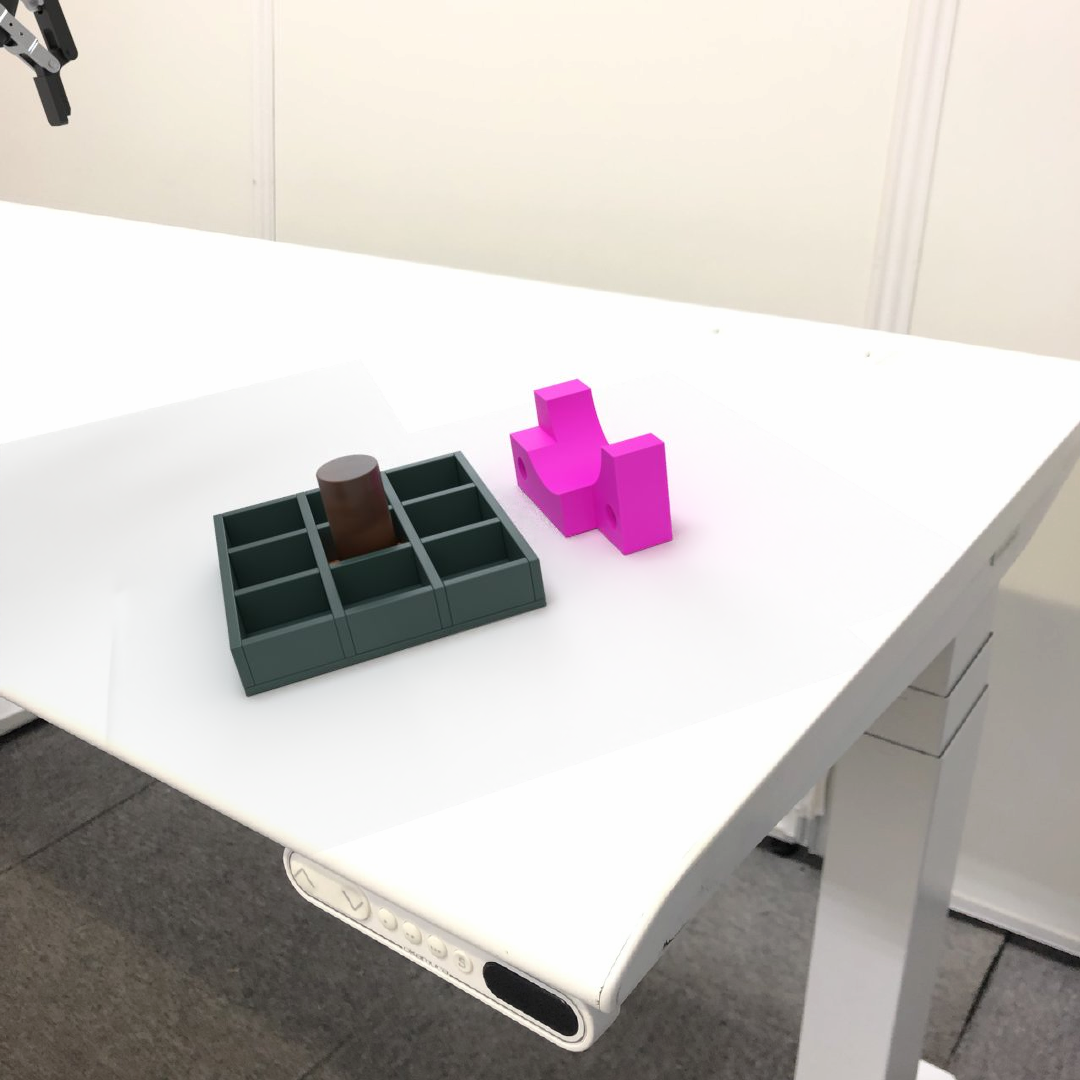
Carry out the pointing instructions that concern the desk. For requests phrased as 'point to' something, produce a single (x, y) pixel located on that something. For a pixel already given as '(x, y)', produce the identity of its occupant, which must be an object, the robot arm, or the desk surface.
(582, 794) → the desk surface
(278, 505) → the grid
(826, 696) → the desk surface
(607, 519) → the toy block
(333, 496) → the cylinder
